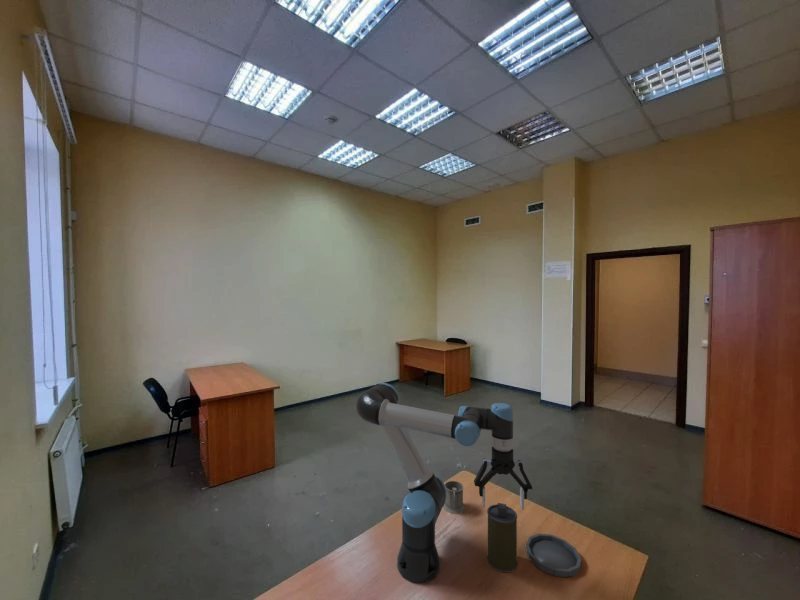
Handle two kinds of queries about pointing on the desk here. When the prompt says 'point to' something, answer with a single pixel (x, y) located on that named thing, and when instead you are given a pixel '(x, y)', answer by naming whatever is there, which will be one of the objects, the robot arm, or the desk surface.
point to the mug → (454, 497)
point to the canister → (502, 537)
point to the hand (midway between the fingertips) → (502, 506)
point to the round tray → (553, 555)
